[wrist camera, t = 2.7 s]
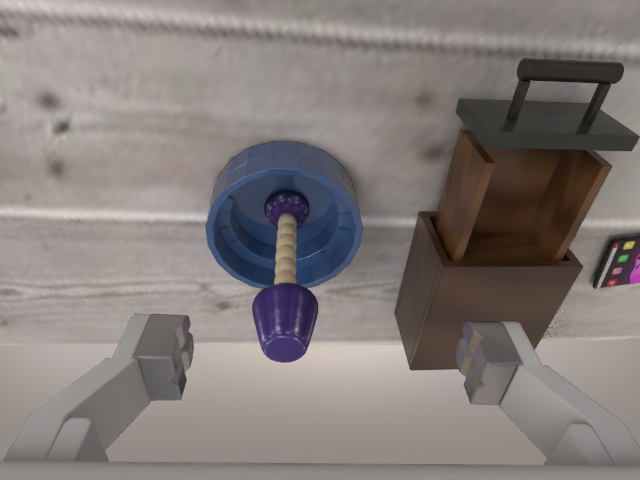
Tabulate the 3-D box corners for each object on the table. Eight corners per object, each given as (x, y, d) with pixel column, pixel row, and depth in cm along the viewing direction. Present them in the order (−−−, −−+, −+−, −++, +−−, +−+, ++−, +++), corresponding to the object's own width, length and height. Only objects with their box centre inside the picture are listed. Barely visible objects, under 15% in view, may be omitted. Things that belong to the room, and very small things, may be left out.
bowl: (362, 141, 38) (371, 170, 34) (346, 257, 46) (353, 290, 42) (206, 137, 37) (198, 166, 33) (219, 257, 45) (213, 291, 41)
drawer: (473, 41, 32) (508, 68, 28) (616, 48, 34) (674, 75, 29) (423, 231, 44) (442, 275, 39) (532, 232, 45) (563, 274, 40)
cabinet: (419, 211, 43) (443, 266, 37) (540, 212, 44) (584, 266, 38) (394, 312, 52) (410, 370, 46) (495, 311, 53) (524, 367, 47)
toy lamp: (252, 218, 42) (241, 366, 29) (267, 178, 39) (261, 321, 26) (300, 231, 43) (309, 378, 30) (317, 193, 40) (335, 336, 27)
